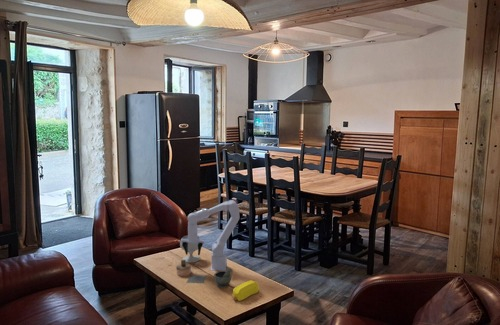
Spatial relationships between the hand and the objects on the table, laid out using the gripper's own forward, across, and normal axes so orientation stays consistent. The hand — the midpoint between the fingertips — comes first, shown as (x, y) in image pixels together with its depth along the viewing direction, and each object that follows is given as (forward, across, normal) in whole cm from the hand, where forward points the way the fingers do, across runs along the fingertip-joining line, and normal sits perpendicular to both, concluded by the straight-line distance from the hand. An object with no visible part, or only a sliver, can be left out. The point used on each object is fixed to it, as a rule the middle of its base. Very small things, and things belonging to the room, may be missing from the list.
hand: (192, 254), depth 232 cm
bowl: (+10, +4, +5) cm, 12 cm away
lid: (+6, +4, +5) cm, 9 cm away
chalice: (+11, +6, -17) cm, 21 cm away
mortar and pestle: (+10, -22, +20) cm, 32 cm away
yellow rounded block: (+10, -36, +29) cm, 47 cm away
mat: (+10, -6, +13) cm, 17 cm away
